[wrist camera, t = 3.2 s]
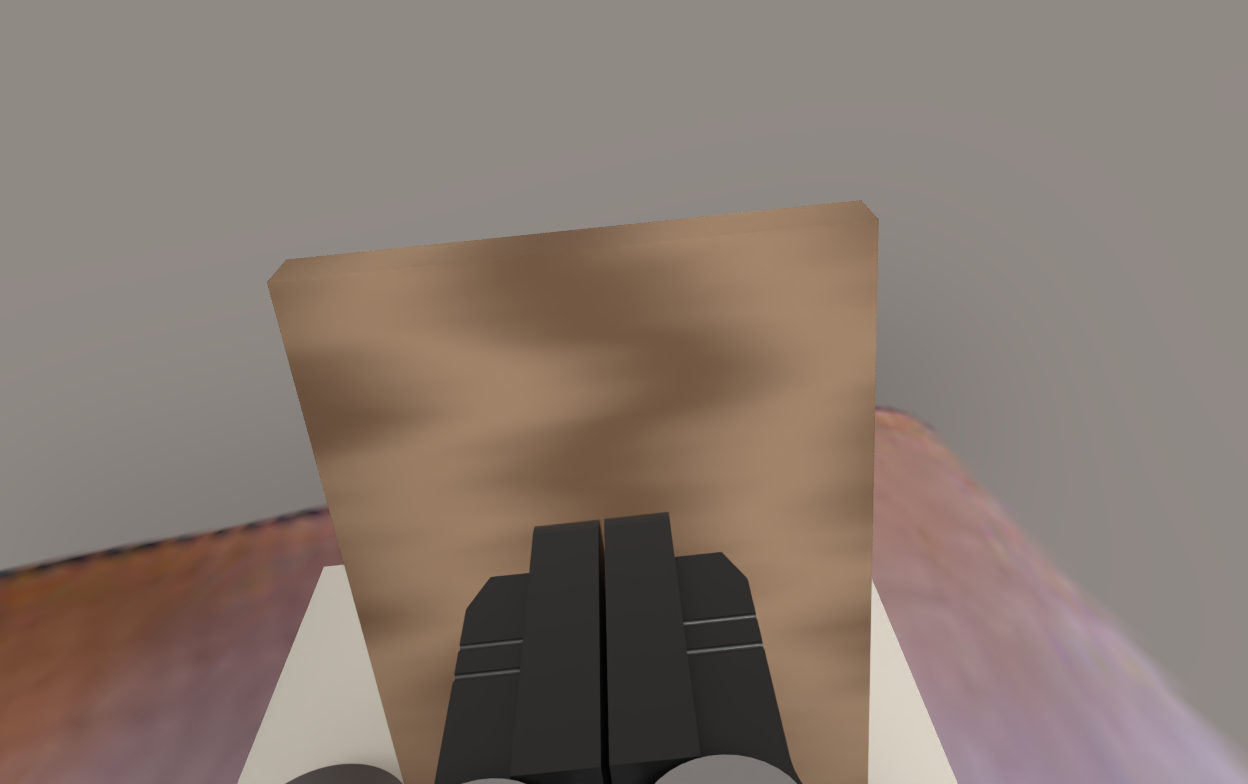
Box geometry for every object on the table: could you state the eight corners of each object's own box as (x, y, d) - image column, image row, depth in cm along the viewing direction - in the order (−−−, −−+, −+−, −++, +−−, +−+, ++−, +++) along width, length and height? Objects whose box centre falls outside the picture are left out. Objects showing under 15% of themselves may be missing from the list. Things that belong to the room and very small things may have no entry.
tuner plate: (139, 1123, 22) (115, 1081, 21) (332, 597, 38) (323, 564, 38) (1041, 1041, 22) (1048, 996, 21) (844, 547, 38) (845, 513, 38)
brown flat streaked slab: (224, 985, 23) (-59, 347, 16) (277, 825, 27) (72, 257, 20) (971, 915, 22) (1034, 235, 15) (915, 764, 26) (943, 167, 19)
